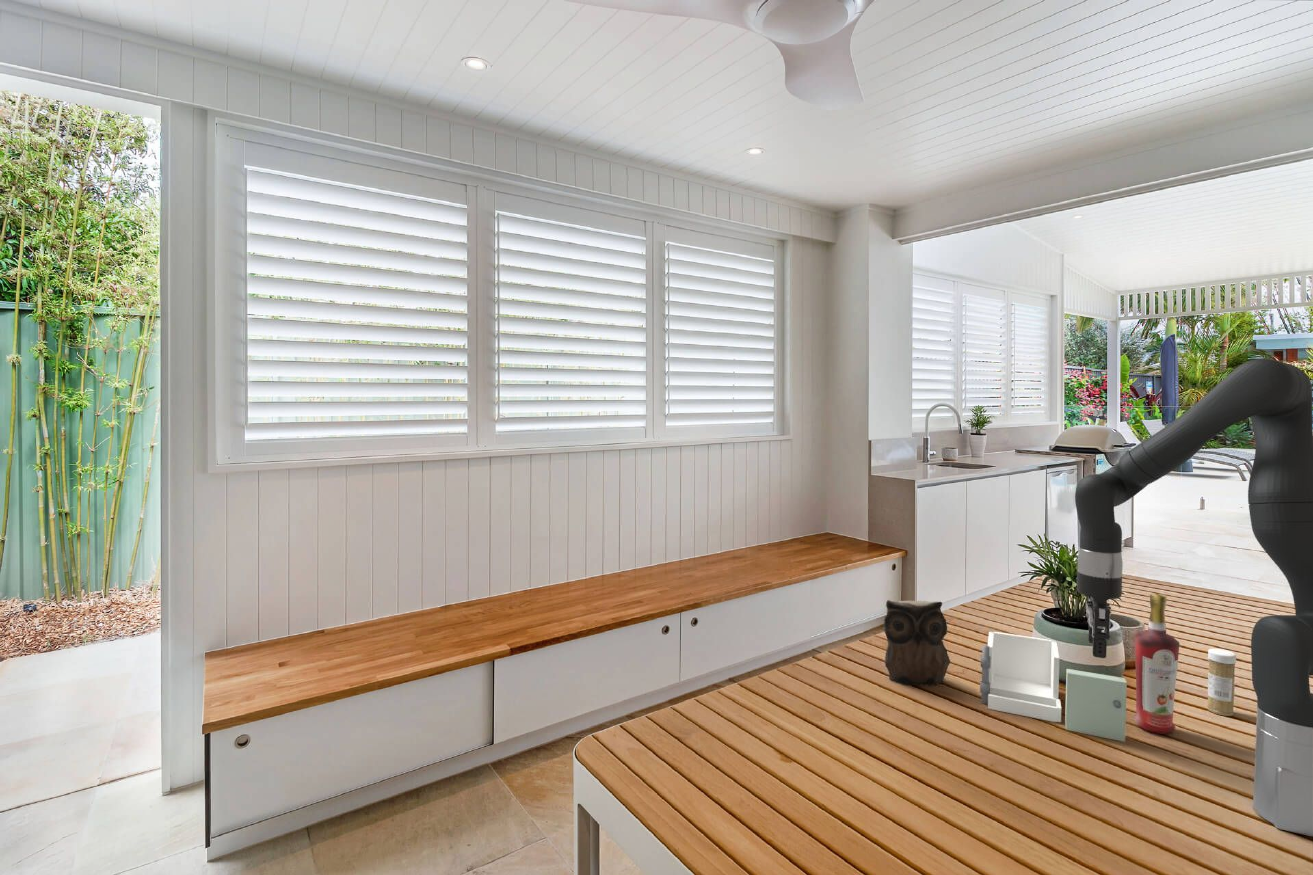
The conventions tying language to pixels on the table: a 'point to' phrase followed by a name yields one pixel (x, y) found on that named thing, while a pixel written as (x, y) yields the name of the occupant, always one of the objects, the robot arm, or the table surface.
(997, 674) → the cabinet
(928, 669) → the owl
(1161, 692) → the liquor
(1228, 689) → the sprinkles bottle
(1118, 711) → the door
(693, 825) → the table surface
